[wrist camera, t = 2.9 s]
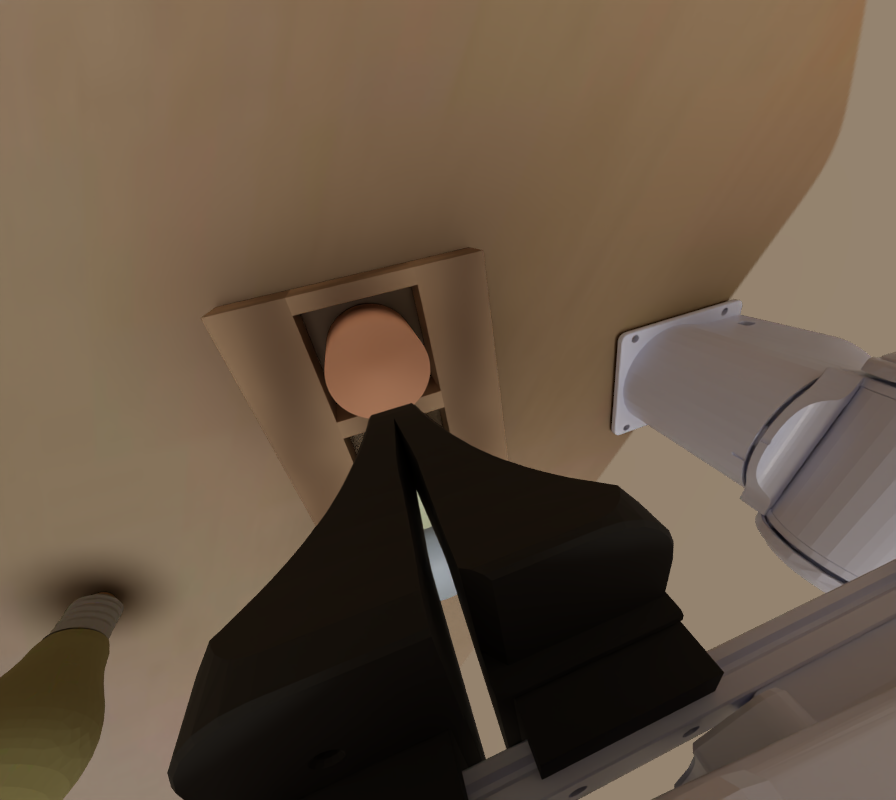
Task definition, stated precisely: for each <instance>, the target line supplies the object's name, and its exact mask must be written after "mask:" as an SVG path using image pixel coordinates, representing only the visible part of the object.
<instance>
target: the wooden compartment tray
mask: <svg viewBox="0 0 896 800" xmlns="http://www.w3.org/2000/svg"><path fill="white" fill-rule="evenodd" d="M410 286H411V287H412V292H413V296H414V300H415V305H416V309H417V314H418V318H419V322H420V327H421V331H422V335H423V340H424V344H425V349H426V351H427V354H428V357H429V361H430V371H431V375H432V377H430V378H429V381H428V385H427V387H426V389H425V391H424V393H423V395H422V396H421V397H420V399H419V400H418V401H417V402H416V403H415V404H414V405H416V406H417V407H418V408H419V409H420V410H421V411H422V412H423V413H427V412H430V411H433V410H437V409H439V410H440V415H441V419H442V423H443V428H444V429H446V430H447V431H448V432H450V433H452V434H453V435H455V436H456V437H458V438H460V439H461V440H463V441H465V442H466V443H468V444H470V445H472V446H474V447H476V448H478V449H480V450H482V451H484V452H486V453H489V454H491V455H493V456H496V457H498V458H501V459H504V460H507V461H508V454H507V445H506V437H505V428H504V420H503V411H502V403H501V394H500V386H499V378H498V369H497V361H496V352H495V344H494V335H493V327H492V319H491V310H490V302H489V293H488V285H487V276H486V268H485V259H484V251H483V250H479V249H474V248H464V249H460V250H456V251H452V252H447V253H443V254H439V255H435V256H430V257H426V258H422V259H418V260H414V261H409V262H405V263H401V264H397V265H392V266H388V267H384V268H380V269H375V270H371V271H367V272H363V273H359V274H354V275H350V276H346V277H342V278H337V279H333V280H329V281H325V282H320V283H316V284H312V285H308V286H304V287H299V288H295V289H291V290H287V291H282V292H278V293H274V294H270V295H266V296H261V297H257V298H253V299H249V300H244V301H240V302H236V303H232V304H227V305H223V306H219V307H215V308H214V309H213V310H211V311H210V312H208V313H207V314H206V315H204V316H203V317H202V318H201V320H202V321H203V323H204V325H205V327H206V329H207V330H208V332H209V334H210V336H211V338H212V339H213V341H214V343H215V345H216V347H217V348H218V350H219V352H220V354H221V356H222V358H223V359H224V361H225V363H226V365H227V367H228V368H229V370H230V372H231V374H232V376H233V377H234V379H235V381H236V383H237V385H238V386H239V388H240V390H241V392H242V394H243V395H244V397H245V399H246V401H247V403H248V404H249V406H250V408H251V410H252V412H253V414H254V415H255V417H256V419H257V421H258V423H259V424H260V426H261V428H262V430H263V432H264V433H265V435H266V437H267V439H268V441H269V442H270V444H271V446H272V448H273V450H274V451H275V453H276V455H277V457H278V459H279V460H280V462H281V464H282V466H283V468H284V470H285V471H286V473H287V475H288V477H289V479H290V480H291V482H292V484H293V486H294V488H295V489H296V491H297V493H298V495H299V497H300V498H301V500H302V502H303V504H304V506H305V507H306V509H307V511H308V513H309V515H310V516H311V518H312V520H313V522H314V524H315V526H317V524H318V523H319V522H320V520H321V519H322V518H323V516H324V515H325V513H326V512H327V510H328V509H329V507H330V506H331V504H332V502H333V501H334V499H335V498H336V496H337V494H338V492H339V491H340V489H341V487H342V485H343V483H344V481H345V479H346V477H347V475H348V473H349V471H350V469H351V467H352V465H353V463H354V461H355V458H356V456H357V454H356V452H355V449H354V447H353V444H352V442H351V440H350V436H353V435H357V434H360V433H363V432H365V431H366V428H367V424H368V420H369V418H363V417H360V416H357V415H354V414H352V413H350V412H348V411H346V410H345V409H343V408H342V407H341V406H340V405H339V404H337V405H336V402H335V400H334V399H333V397H332V396H331V394H330V392H329V390H328V388H327V385H326V381H325V375H324V372H323V370H322V367H321V365H320V362H319V360H318V358H317V355H316V353H315V350H314V348H313V345H312V343H311V340H310V338H309V335H308V333H307V330H306V328H305V325H304V323H303V320H302V318H301V315H300V314H302V313H306V312H310V311H314V310H318V309H322V308H326V307H330V306H334V305H338V304H342V303H346V302H350V301H354V300H358V299H362V298H366V297H370V296H374V295H378V294H382V293H386V292H390V291H394V290H398V289H402V288H406V287H410Z"/></svg>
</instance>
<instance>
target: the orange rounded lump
mask: <svg viewBox="0 0 896 800" xmlns="http://www.w3.org/2000/svg"><path fill="white" fill-rule="evenodd" d="M324 370H325V381H326V385H327V388H328V390H329V392H330V394H331V396H332V397H333V399H334V400H335V401H336V402H337V403H338V404H339V405H340V406H341V407H342V408H343V409H345V410H346V411H348V412H350V413H352V414H354V415H357V416H360V417H363V418H370V416H371V415H373V414H377V413H380V412H383V411H387V410H390V409H393V408H396V407H400V406H403V405H406V404H410V403H412V404H415V403H416V402H417V401H418V400H419V399H420V397H421V396H422V395H423V393H424V391H425V389H426V387H427V385H428V381H429V378H430V361H429V357H428V354H427V351H426V349H425V347H424V346H423V344H422V343H421V341H420V340H419V338H418V337H417V336H416V334H415V333H414V331H413V330H412V329H411V327H410V326H409V324H408V323H407V322H406V320H405V319H404V318H403V317H402V316H401V315H400V314H399V313H397V312H396V311H394V310H393V309H391V308H389V307H386V306H383V305H379V304H362V305H357V306H354V307H352V308H350V309H347V310H346V311H344V312H343V313H342V314H340V315H339V316H338V317H337V318H336V320H335V321H334V322H333V324H332V325H331V327H330V329H329V332H328V335H327V340H326V353H325V369H324Z"/></svg>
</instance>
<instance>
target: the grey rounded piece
mask: <svg viewBox="0 0 896 800" xmlns="http://www.w3.org/2000/svg"><path fill="white" fill-rule="evenodd" d="M424 534H425V540H426V545H427V550H428V556H429V560H430V565H431V569H432V573H433V577H434V580H435V584H436V587H437V591H438V594H439V598H440V601H441V600H445V599H448V598H450V597H453V596H455V595H456V594H457V592H456V589H455V586H454V583H453V580H452V576H451V573H450V570H449V567H448V564H447V562H446V559H445V556H444V554H443V551H442V549H441V546H440V544H439V542H438V539H437V537H436V535H435V532H434V530H433V528H432V527H429V528H426V529H424Z"/></svg>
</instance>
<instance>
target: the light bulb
mask: <svg viewBox="0 0 896 800" xmlns="http://www.w3.org/2000/svg"><path fill="white" fill-rule="evenodd" d="M123 610H124V607H123V604H122V603H121V602H120V601H119V600H118V599H116V598H115V597H114V596H113V595H112V594H111V593H108V592H101V593H97V594H94V595H89V596H84V597H81V598H78V599H76V600H75V601H73V602H72V603H71V604H70V605H69V607H68V608H67V610H66V611H65V613H64V615H63V616H62V617H61V619H60V621H59V622H58V623H57V624H56V626H55V628H54V629H53V630H52V631H51V632H50V634H49V635H47V636H46V637H45V638H43V640H42V641H41V642H39V643H38V644H37V645H36V646H34V647H33V648H32V649H31V650H30V651H29V652H28V653H27V654H26V655H25V657H24V658H23V659H22V660H21V661H20V662H18V663H17V664H16V665H15V666H14V667H13V668H12V669H11V670H9V671H8V672H7V673H5V674H4V675H3V676H2V677H0V800H63V798H64V797H65V796H66V795H67V794H68V792H69V791H70V790H71V788H72V787H73V786H74V785H75V783H76V782H77V781H78V779H79V778H80V776H81V775H82V773H83V771H84V770H85V768H86V766H87V765H88V763H89V761H90V760H91V758H92V756H93V754H94V751H95V749H96V746H97V744H98V741H99V739H100V735H101V731H102V726H103V721H104V712H105V699H104V670H105V666H106V663H107V659H108V656H109V640H108V639H109V638H110V636H111V633H112V630H113V629H114V628H115V625H116V623H117V622H118V620H119V617H120V616H121V614H122V612H123Z"/></svg>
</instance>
